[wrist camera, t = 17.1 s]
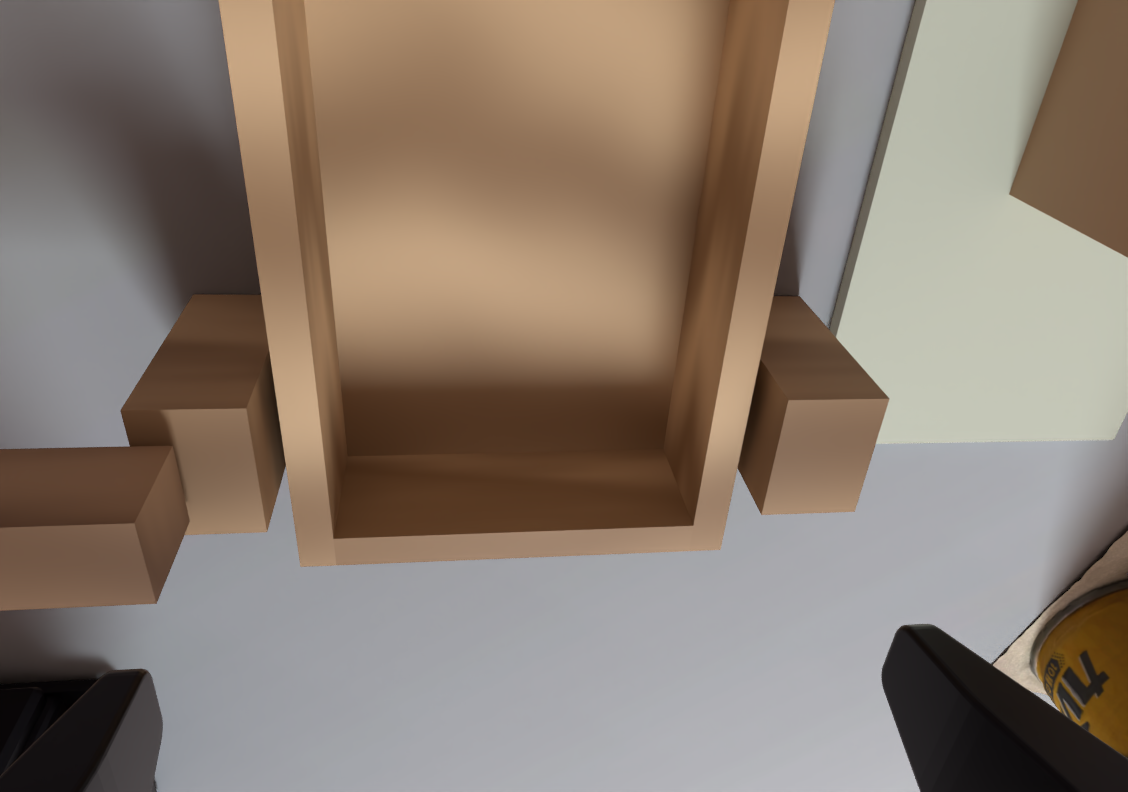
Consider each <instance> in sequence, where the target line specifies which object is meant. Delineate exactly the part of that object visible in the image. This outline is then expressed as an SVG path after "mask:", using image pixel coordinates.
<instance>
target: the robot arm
mask: <svg viewBox="0 0 1128 792" xmlns="http://www.w3.org/2000/svg"><path fill="white" fill-rule="evenodd" d="M882 685H883V689H884V692H885V695H886V698H887V700H888V703H889V706H890V709H891V711H892V714H893V717H894V720H895V723H896V725H897V728H898V731H899V734H900V737H901V739H902V742H903V745H904V748H905V751H906V753H907V756H908V759H909V762H910V765H911V767H912V770H913V773H914V776H915V779H916V781H917V784H918V787H919V789H920V792H1128V759H1127V758H1126V757H1125V756H1123V755H1122V754H1120V753H1119V752H1117V751H1116V750H1114V749H1113V748H1112V747H1110V746H1109V745H1107V744H1106V743H1104V742H1103V741H1101V740H1100V739H1099V738H1097V737H1096V736H1094V735H1093V734H1091V733H1090V732H1088V731H1087V730H1086V729H1084V728H1083V727H1081V726H1080V725H1078V724H1077V723H1075V722H1074V721H1073V720H1071V719H1070V718H1068V717H1067V716H1065V715H1064V714H1062V713H1061V712H1060V711H1058V710H1057V709H1055V708H1054V707H1052V706H1051V705H1049V704H1048V703H1046V702H1045V701H1044V700H1042V699H1041V698H1039V697H1038V696H1036V695H1035V694H1033V693H1032V692H1031V691H1029V690H1028V689H1026V688H1025V687H1023V686H1022V685H1020V684H1019V683H1018V682H1016V681H1015V680H1013V679H1012V678H1010V677H1009V676H1007V675H1006V674H1005V673H1003V672H1002V671H1000V670H999V669H997V668H996V667H994V666H993V665H992V664H990V663H989V662H987V661H986V660H984V659H983V658H981V657H980V656H979V655H977V654H976V653H974V652H973V651H971V650H970V649H968V648H967V647H966V646H964V645H963V644H961V643H960V642H958V641H957V640H955V639H954V638H952V637H951V636H950V635H948V634H947V633H945V632H944V631H942V630H941V629H939V628H938V627H936V626H934V625H931V624H914V625H904V626H901V627H900V628H899V629H898V630H897V632H896V633H895V636H894V639H893V641H892V644H891V647H890V649H889V652H888V654H887V657H886V660H885V662H884V665H883V668H882ZM162 731H163V722H162V715H161V711H160V707H159V703H158V699H157V695H156V691H155V687H154V684H153V680H152V677H151V674H150V673H149V672H148V671H147V670H145V669H129V670H114V671H110V672H108V673H106V674H104V675H103V676H102V677H101V678H99V679H91V680H74V681H56V682H39V683H21V684H3V685H0V792H157V791H156V788H155V785H154V782H153V780H154V775H155V770H156V765H157V760H158V755H159V750H160V745H161V739H162Z"/></svg>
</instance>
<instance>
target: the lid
mask: <svg viewBox="0 0 1128 792" xmlns="http://www.w3.org/2000/svg"><path fill="white" fill-rule="evenodd" d="M829 330H830V331H831V333H832V334H833V335H834V336H835V337H836V338H837V339H838V341H839V342H840V343H841V344H842V345H843V346H844V347H845V349H846V350H847V351H848V352H849V353H850V354H851V355H852V356H853V358H854V359H855V360H856V361H857V362H858V363H859V364H860V366H861V367H862V368H863V369H864V370H865V371H866V372H867V374H868V375H869V376H870V377H871V378H872V379H873V380H874V382H875V383H876V384H877V385H878V386H879V387H880V388H881V389H882V391H883V392H884V393H885V394H886V395H887V396H888V397H889V402H888V406H887V409H886V412H885V415H884V419H883V422H882V425H881V428H880V431H879V435H878V438H877V441H876V444H892V443H953V442H1015V441H1076V440H1114V438H1115V436H1116V434H1117V432H1118V430H1119V428H1120V426H1121V424H1122V422H1123V420H1124V418H1125V416H1126V414H1127V412H1128V0H916V1H915V5H914V9H913V13H912V16H911V20H910V24H909V28H908V32H907V35H906V39H905V43H904V47H903V51H902V55H901V58H900V62H899V66H898V70H897V74H896V77H895V81H894V85H893V89H892V93H891V96H890V100H889V104H888V108H887V112H886V115H885V119H884V123H883V127H882V131H881V134H880V138H879V142H878V146H877V150H876V153H875V157H874V161H873V165H872V169H871V172H870V176H869V180H868V184H867V188H866V192H865V195H864V199H863V203H862V207H861V211H860V214H859V218H858V222H857V226H856V230H855V233H854V237H853V241H852V245H851V249H850V252H849V256H848V260H847V264H846V268H845V271H844V275H843V279H842V283H841V287H840V290H839V294H838V298H837V302H836V306H835V310H834V313H833V317H832V321H831V325H830V329H829Z"/></svg>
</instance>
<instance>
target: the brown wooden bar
mask: <svg viewBox="0 0 1128 792" xmlns="http://www.w3.org/2000/svg"><path fill="white" fill-rule="evenodd" d="M189 522H190V519H189V515H188V510H187V506H186V502H185V497H184V493H183V489H182V484H181V480H180V476H179V471H178V467H177V463H176V458H175V454H174V450H173V446H135V447H87V448H39V449H0V611H4V610H26V609H48V608H70V607H92V606H114V605H136V604H156V603H157V601H158V598H159V596H160V594H161V591H162V589H163V586H164V584H165V581H166V579H167V576H168V574H169V571H170V569H171V567H172V564H173V562H174V559H175V557H176V554H177V552H178V549H179V547H180V544H181V542H182V539H183V537H184V535H185V532H186V530H187V527H188V525H189Z"/></svg>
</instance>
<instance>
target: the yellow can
mask: <svg viewBox="0 0 1128 792" xmlns="http://www.w3.org/2000/svg"><path fill="white" fill-rule="evenodd" d="M1126 573H1128V531H1127V532H1126V533H1125V534H1124V535H1123V536H1122V537H1121V538H1119V539H1118V540H1117V541H1115V542H1114V543H1113V545H1112V546H1111V547H1110V548H1109V549H1108V551H1107V553H1106V554H1105V555H1104V556H1103V558H1101V559H1100V560H1099V561H1097V562H1096V563H1095V564H1094V565H1093V566H1092V567H1091V568H1090V569H1089V570H1088V571H1087V572H1086V573H1085V575H1084V576H1083V577H1082V578H1081V580H1080V581H1078V582H1076V583H1075V584H1074V585H1073V586H1072V587H1071V588H1070V589H1069V590H1068V591H1067V592H1065V593H1064V594H1063V595H1062V596H1061V597H1060V598H1059V599H1057V600H1056V601H1055V602H1054V603H1053V604H1052V605H1051V606H1050V607H1049V608H1048V609H1047V610H1046V611H1045V612H1043V614H1042V615H1041V616H1040V617H1039V618H1038V619H1037V620H1036V621H1035V623H1034V624H1033V625H1032V626H1030V628H1028V629H1027V630H1026V631H1025V632H1024V634H1023V635H1022V636H1021V637H1020V638H1018V639H1017V640H1016V641H1015V642H1014V643H1013V644H1012V645H1011V646H1010V647H1009V649H1008V651H1007V652H1006V653H1005V654H1004V655H1003V656H1001V657H1000V658H999V659H998V660H997V661H996V662H995V663H994V664H993V666H994V667H996V668H997V669H999V670H1000V671H1002V672H1003V673H1005V674H1006V675H1007V676H1009V677H1010V678H1012V679H1013V680H1015V681H1016V682H1018V683H1019V684H1020V685H1022V686H1023V687H1025V688H1026V689H1028V690H1030V691H1033V692H1038V693H1043V694H1046V695H1048V696H1049V697H1050V698H1051V700H1052V701H1053V703H1054V704H1055V705H1056V707H1057V708H1058V709H1059V710H1060V712H1061V713H1062V714H1064V715H1065V716H1067V717H1068V718H1070V719H1071V720H1073V721H1074V722H1075V723H1077V724H1078V725H1080V726H1081V727H1083V728H1084V729H1086V730H1087V731H1088V732H1090V733H1091V734H1093V735H1094V736H1096V737H1097V738H1099V739H1100V740H1101V741H1103V742H1104V743H1106V744H1107V745H1109V746H1110V747H1112V748H1113V749H1114V750H1116V751H1117V752H1119V753H1120V754H1122V755H1123V756H1125V757H1126V758H1127V759H1128V575H1125V574H1126Z"/></svg>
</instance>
